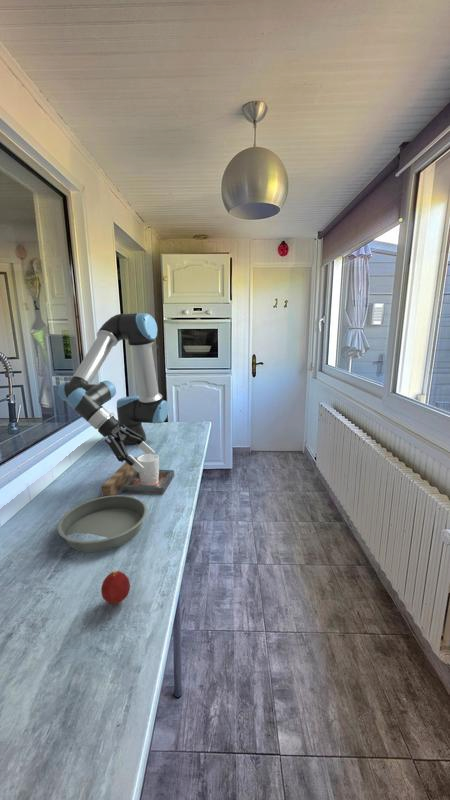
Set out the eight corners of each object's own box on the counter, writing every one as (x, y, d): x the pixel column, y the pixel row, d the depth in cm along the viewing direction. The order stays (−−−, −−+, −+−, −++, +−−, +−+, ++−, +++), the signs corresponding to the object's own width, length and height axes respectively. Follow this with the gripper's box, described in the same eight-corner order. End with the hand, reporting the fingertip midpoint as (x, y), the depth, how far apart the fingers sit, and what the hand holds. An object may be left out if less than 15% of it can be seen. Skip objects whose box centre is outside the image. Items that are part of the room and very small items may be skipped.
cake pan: (63, 516, 106) (61, 503, 105) (142, 501, 115) (141, 489, 114) (54, 567, 84) (52, 551, 83) (153, 543, 92) (152, 529, 91)
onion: (107, 592, 75) (103, 561, 73) (133, 590, 75) (130, 559, 74) (99, 614, 69) (95, 581, 68) (128, 612, 70) (125, 579, 68)
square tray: (137, 474, 135) (137, 469, 135) (174, 475, 133) (174, 470, 133) (123, 492, 120) (122, 486, 120) (163, 494, 119) (163, 487, 118)
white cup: (162, 478, 130) (161, 454, 128) (156, 487, 123) (154, 462, 121) (143, 477, 131) (141, 453, 129) (135, 487, 124) (133, 461, 122)
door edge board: (131, 468, 141) (130, 457, 140) (138, 468, 141) (137, 457, 140) (102, 499, 116) (101, 486, 115) (111, 500, 115) (109, 486, 114)
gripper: (112, 420, 136) (151, 455, 138) (81, 441, 112) (128, 484, 114) (124, 407, 134) (162, 443, 136) (94, 426, 110) (142, 469, 112)
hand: (147, 462), depth 125 cm, fingers open, 13 cm apart
